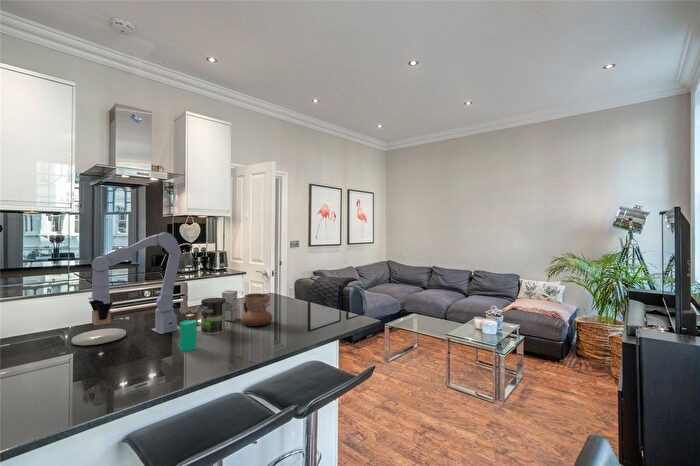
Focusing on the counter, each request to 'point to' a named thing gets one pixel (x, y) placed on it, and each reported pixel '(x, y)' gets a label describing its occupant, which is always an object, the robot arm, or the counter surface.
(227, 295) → the syrup box
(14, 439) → the counter surface
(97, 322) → the block
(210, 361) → the counter surface
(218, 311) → the glass jar
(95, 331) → the dish
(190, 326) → the candle
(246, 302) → the ceramic jug
